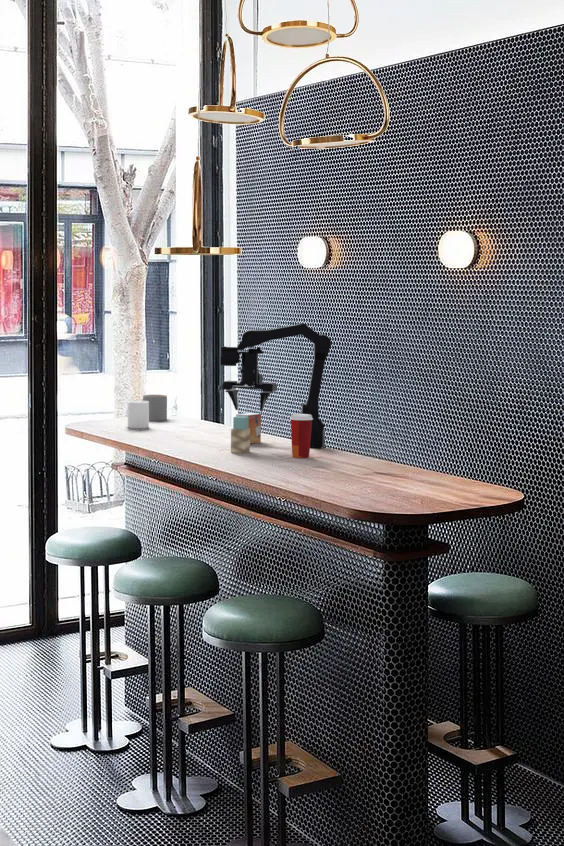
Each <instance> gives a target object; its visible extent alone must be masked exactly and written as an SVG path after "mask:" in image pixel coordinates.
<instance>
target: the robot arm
mask: <svg viewBox="0 0 564 846" xmlns="http://www.w3.org/2000/svg"><path fill="white" fill-rule="evenodd" d="M296 336H303V337H304V338H306V339H308V340H309V341H310V342H312V343H313V363H312V371H311V377H310V382H309V386H308V387H309V388H308V394H307V395H308V396H307V399H306V401H305V402H301V410H300V412H299V414H310V415H312V418H313V420H312V430H311V441H310V448H314V449H315V448H316V449H322V448H325V447H326V446H327V444H325V443H326V441H325V440H326V429H325V424H324V422H323V421H322V419H320V415H319V409H320V408H319V400H320V399H319V398H320V391H321V388H322V387H321V385H322V380H323V375H324V369H325V363H326V360H327V358H328V355H329V353H330V349H331V347H332V340H331V338H330V337H329V336H328V335H326V334H321V333H320V334H319V333H318V332H317V331H315V330H313V329H312V328H311V327H310V326H308V325H307V324H306V323H304V322H301V323H298V324H294V325H288V326H282V327H278V328H277V327H275V328H272V329H249V330H246V331H244V332H243V333H242V336H241V341H239V343H238V344H237V346H226V345H225V346H224V345H223V346H221V348H220V349H221V350H220V366H221V367H237V365H238V364H240V361H241V369H239V370H240V373H241V375H240V376H241V377H240V378H241V380H240V382H238V380H225V381H224V380H223V382H222V384H221V390H225V393H227V394H228V396H229V398H230V400H231V401H232V404H233V407H234V409H235V411H238V409H239V398H238V397H239V396H238V394H239V389H247V390H249V389H250V390H261V392H260V393H259V394H260V397H259V398H260V399H259V401H260V402H259V410H260V412H263V410H264V408H265V404H266V403H267V400H268V398H269V396H270V395H271V394H273V393H274V392H277V391H278V385H277V383H276V382H266V381H265V382H264V381H263V379H264V376H263V375H261V373H260V369H259V367H258V366H259V354H264V350H262V349H261V347H260V346H259V345H262V344H265V343H266V342H269V341H274V340H279V339H285V338H289V337H296ZM256 346H257V348H254V347H256ZM252 347H253V348H252ZM247 348H248V349H247ZM245 349H247V350H246V351H243V350H245ZM240 354H241V355H240ZM240 356H241V358H240Z"/></svg>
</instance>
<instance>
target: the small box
mask: <svg viewBox="0 0 564 846" xmlns="http://www.w3.org/2000/svg"><path fill="white" fill-rule="evenodd" d="M236 416H245V417H249V427H248V428H250V445H251V444H258V443H259V444H260V443H261V441H262V440H261V438H262V437H261V435H262V413H256V412H245V413H236V414H235V417H236Z"/></svg>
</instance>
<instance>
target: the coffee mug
mask: <svg viewBox="0 0 564 846" xmlns="http://www.w3.org/2000/svg"><path fill="white" fill-rule="evenodd" d="M140 401H148V402H149V422H161V421H163V422H164V421H167V420H168V396H167V395H165V394H144V395H143V396H142V399H141V400H140Z"/></svg>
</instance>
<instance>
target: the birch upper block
mask: <svg viewBox="0 0 564 846" xmlns="http://www.w3.org/2000/svg"><path fill="white" fill-rule="evenodd" d="M249 440H250V428H248V429H245V430H240V429H233V428H231V429H230V442H231V441H239V442H246V441H249Z"/></svg>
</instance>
